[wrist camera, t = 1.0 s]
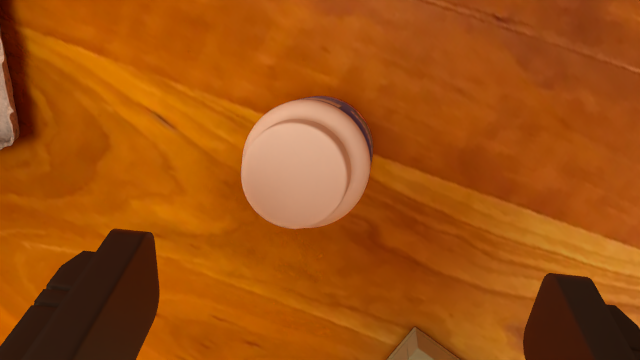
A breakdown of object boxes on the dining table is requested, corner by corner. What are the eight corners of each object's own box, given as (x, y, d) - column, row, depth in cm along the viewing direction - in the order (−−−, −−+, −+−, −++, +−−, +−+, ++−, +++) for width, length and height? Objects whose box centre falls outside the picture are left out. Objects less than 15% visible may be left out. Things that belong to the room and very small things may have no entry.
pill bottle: (375, 193, 29) (372, 249, 20) (277, 196, 30) (228, 251, 20) (371, 91, 28) (367, 99, 19) (270, 97, 29) (216, 107, 19)
